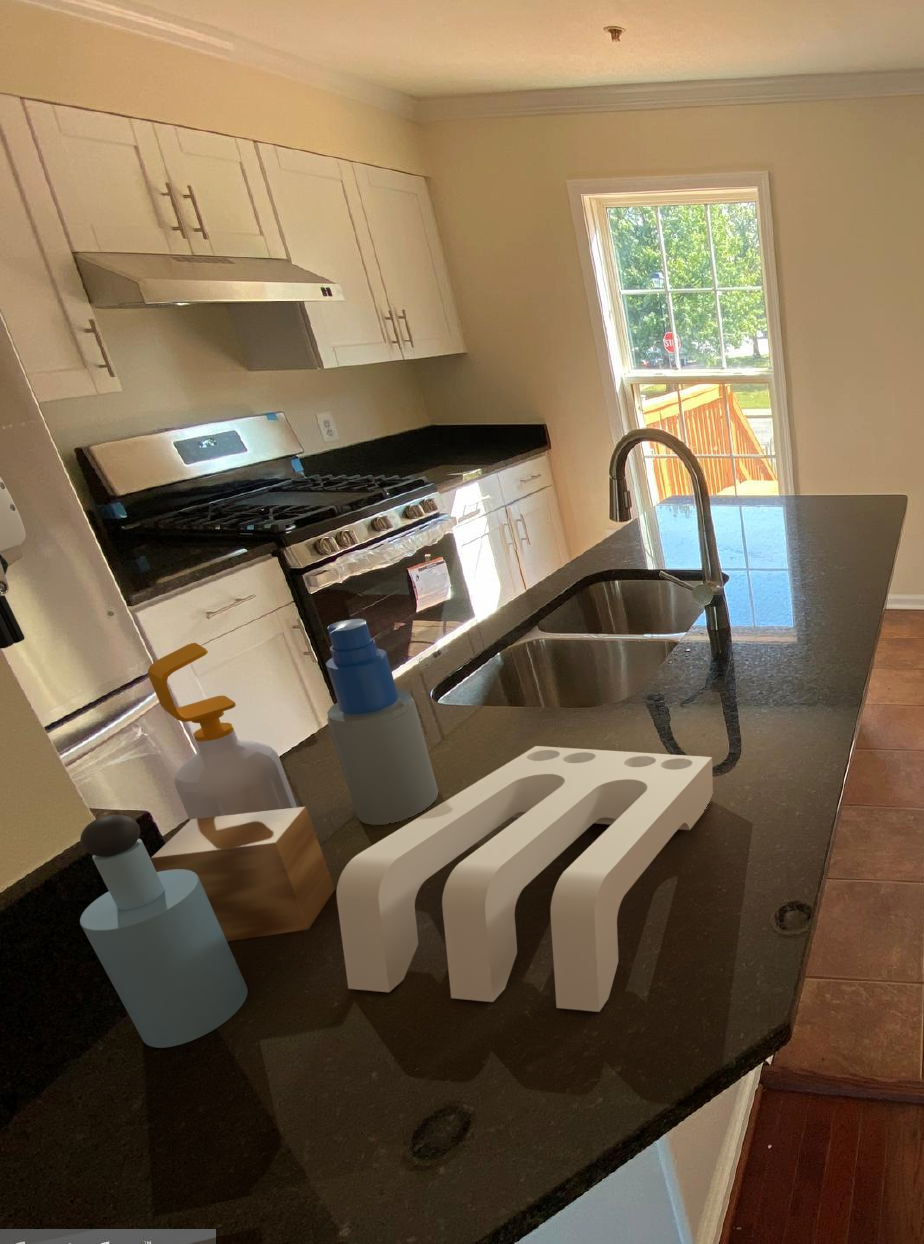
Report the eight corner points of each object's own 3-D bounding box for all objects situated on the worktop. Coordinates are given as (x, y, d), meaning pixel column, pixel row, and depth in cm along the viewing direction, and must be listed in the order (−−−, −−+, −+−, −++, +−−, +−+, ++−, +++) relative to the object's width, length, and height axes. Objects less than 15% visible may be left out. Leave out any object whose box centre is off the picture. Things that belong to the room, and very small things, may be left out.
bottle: (236, 1048, 63) (68, 970, 48) (143, 1063, 62) (-61, 987, 47) (289, 905, 72) (160, 802, 57) (208, 916, 70) (53, 812, 55)
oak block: (191, 947, 70) (149, 858, 66) (227, 903, 75) (190, 819, 71) (308, 929, 72) (275, 842, 68) (335, 889, 78) (306, 806, 74)
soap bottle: (316, 831, 87) (251, 646, 77) (221, 874, 80) (137, 675, 70) (284, 806, 91) (219, 628, 82) (192, 845, 84) (109, 655, 75)
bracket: (712, 757, 93) (593, 890, 61) (713, 842, 95) (599, 1011, 64) (535, 746, 95) (333, 869, 63) (541, 829, 97) (348, 988, 66)
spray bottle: (426, 775, 98) (380, 605, 88) (448, 803, 92) (402, 624, 83) (349, 803, 92) (290, 623, 82) (368, 834, 86) (308, 645, 77)
